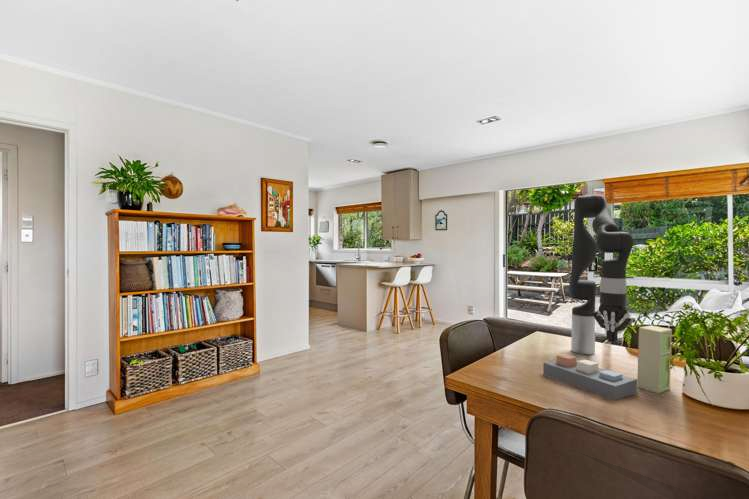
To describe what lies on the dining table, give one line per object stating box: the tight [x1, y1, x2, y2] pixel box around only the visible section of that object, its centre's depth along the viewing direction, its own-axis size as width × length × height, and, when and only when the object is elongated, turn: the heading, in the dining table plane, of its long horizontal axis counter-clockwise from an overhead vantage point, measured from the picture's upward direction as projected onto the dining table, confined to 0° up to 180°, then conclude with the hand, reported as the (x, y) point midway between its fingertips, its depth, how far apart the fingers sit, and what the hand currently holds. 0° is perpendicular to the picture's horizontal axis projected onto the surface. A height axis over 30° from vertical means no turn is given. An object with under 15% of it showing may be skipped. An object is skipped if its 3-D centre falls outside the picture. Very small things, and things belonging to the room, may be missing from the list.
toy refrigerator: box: [636, 325, 673, 394], centre depth 128 cm, size 8×7×21 cm
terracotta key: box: [556, 353, 578, 367], centre depth 139 cm, size 5×5×4 cm
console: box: [542, 359, 638, 401], centre depth 133 cm, size 13×26×4 cm, turn 29°
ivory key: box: [577, 359, 599, 374], centre depth 132 cm, size 5×5×4 cm
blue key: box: [599, 369, 623, 382], centre depth 126 cm, size 5×5×4 cm
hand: (611, 342), depth 125 cm, fingers closed
